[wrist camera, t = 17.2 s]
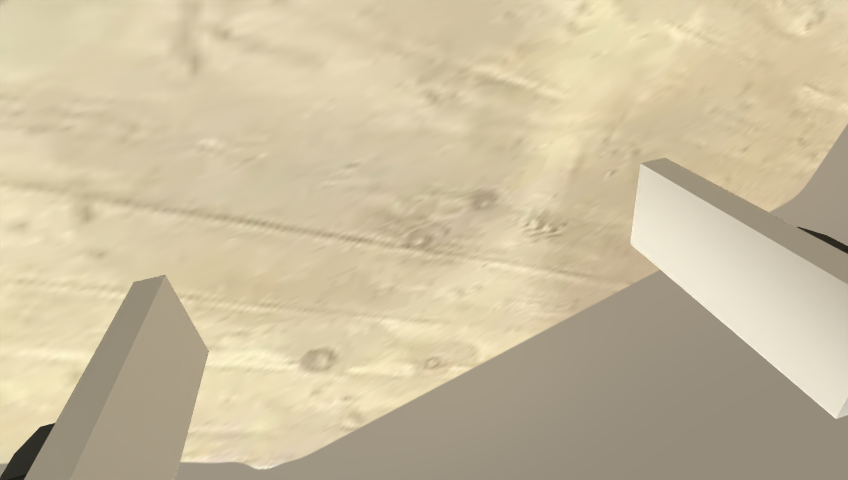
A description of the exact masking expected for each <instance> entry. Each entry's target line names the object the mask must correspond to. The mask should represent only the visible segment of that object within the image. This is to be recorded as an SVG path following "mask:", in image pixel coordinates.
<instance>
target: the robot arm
mask: <svg viewBox="0 0 848 480" xmlns="http://www.w3.org/2000/svg"><path fill="white" fill-rule="evenodd" d="M630 244H631V245H632V246H634V247H635V248H636V249H637V250H638V251H639V252H641V253H642V254H643V255H644V256H645V257H646V258H648V259H649V260H650V261H651V262H652V263H653V264H655V265H656V266H657V267H658V268H659V269H661V270H662V271H663V272H664V273H665V274H666V275H668V276H669V277H670V278H671V279H672V280H673V281H675V282H676V283H677V284H678V285H680V286H681V287H682V288H683V289H684V290H685V291H686V292H688V293H689V294H690V295H691V296H692V297H693V298H695V299H696V300H697V301H698V302H699V303H700V304H702V305H703V306H704V307H705V308H706V309H708V310H709V311H710V312H711V313H712V314H713V315H715V316H716V317H717V318H718V319H719V320H720V321H722V322H723V323H724V324H725V325H726V326H728V327H729V328H730V329H731V330H732V331H733V332H735V333H736V334H737V335H738V336H739V337H740V338H742V339H743V340H744V341H745V342H746V343H747V344H749V345H750V346H751V347H752V348H753V349H755V350H756V351H757V352H758V353H759V354H760V355H762V356H763V357H764V358H765V359H766V360H767V361H769V362H770V363H771V364H772V365H773V366H774V367H776V368H777V369H778V370H779V371H780V372H781V373H783V374H784V375H785V376H786V377H787V378H789V379H790V380H791V381H792V382H793V383H795V384H796V385H797V386H798V387H799V388H800V389H802V390H803V391H804V392H805V393H806V394H807V395H808V396H810V397H811V398H812V399H813V400H814V401H816V402H817V403H818V404H819V405H820V406H821V407H823V408H824V409H825V410H826V411H827V412H828V413H830V414H831V415H832V416H833V417H834V418H836V419H837V418H840V417H843V416H846V415H848V246H846V245H844V244H842V243H840V242H838V241H837V240H835V239H833V238H831V237H829V236H827V235H824V234H820V233H817V232H814V231H810V230H807V229H804V228H800V227H795V226H793V225H792V224H790V223H788V222H786V221H784V220H782V219H780V218H778V217H776V216H774V215H773V214H771V213H769V212H767V211H765V210H763V209H761V208H759V207H758V206H756V205H754V204H752V203H750V202H748V201H746V200H744V199H742V198H740V197H739V196H737V195H735V194H733V193H731V192H729V191H727V190H725V189H723V188H722V187H720V186H718V185H716V184H714V183H712V182H710V181H708V180H706V179H704V178H703V177H701V176H699V175H697V174H695V173H693V172H691V171H689V170H687V169H686V168H684V167H682V166H680V165H678V164H676V163H674V162H672V161H670V160H668V159H667V158H662V159H658V160H653V161H649V162H645V163H641V165H640V172H639V180H638V188H637V196H636V203H635V211H634V219H633V227H632V234H631V242H630ZM208 352H209V351H208V349H207V347H206V346H205V344H204V342H203V340H202V339H201V337H200V335H199V333H198V332H197V330H196V328H195V326H194V325H193V323H192V321H191V319H190V318H189V316H188V314H187V312H186V310H185V309H184V307H183V305H182V303H181V302H180V300H179V298H178V296H177V295H176V293H175V291H174V289H173V288H172V286H171V284H170V282H169V281H168V279H167V277H166V275H163V276H159V277H154V278H150V279H146V280H141V281H137V282H134V283H133V285H132V286H131V288H130V290H129V292H128V294H127V295H126V297H125V299H124V301H123V303H122V304H121V306H120V308H119V310H118V312H117V313H116V315H115V317H114V319H113V321H112V322H111V324H110V326H109V328H108V330H107V331H106V333H105V335H104V337H103V339H102V340H101V342H100V344H99V346H98V348H97V349H96V351H95V353H94V355H93V357H92V358H91V360H90V362H89V364H88V366H87V367H86V369H85V371H84V373H83V375H82V376H81V378H80V380H79V382H78V384H77V385H76V387H75V389H74V391H73V393H72V394H71V396H70V398H69V400H68V402H67V403H66V405H65V407H64V409H63V410H62V412H61V414H60V416H59V418H58V419H57V421H56V423H53V424H49V425H46V426H42V427H40V428H39V429H38V430H37V431H36V432H35V433H34V434H33V435H32V436H31V437H30V438H29V439H28V440H27V441H26V442H25V443H24V444H23V446H22V447H21V448H20V449H19V450H18V451H17V452H16V453H15V454H14V456H13V457H12V459H11V460H10V462H9V464H8V465H7V467H6V469H5V471H4V472H3V474H2V475H1V477H0V480H175V479H176V475H177V471H178V467H179V464H180V460H181V456H182V452H183V448H184V444H185V440H186V437H187V433H188V429H189V425H190V421H191V417H192V414H193V410H194V406H195V402H196V398H197V394H198V390H199V387H200V383H201V379H202V375H203V371H204V367H205V364H206V360H207V356H208Z"/></svg>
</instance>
